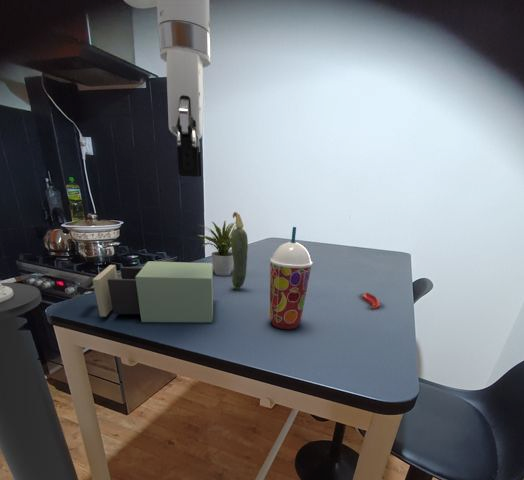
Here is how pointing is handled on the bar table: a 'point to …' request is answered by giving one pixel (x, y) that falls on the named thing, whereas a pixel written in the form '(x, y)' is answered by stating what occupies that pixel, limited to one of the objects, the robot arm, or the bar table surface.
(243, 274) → the vegetable
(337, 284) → the bar table surface
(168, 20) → the robot arm
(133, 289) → the drawer
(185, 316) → the pale green box
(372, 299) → the cayenne pepper
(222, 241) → the house plant
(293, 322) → the smoothie
